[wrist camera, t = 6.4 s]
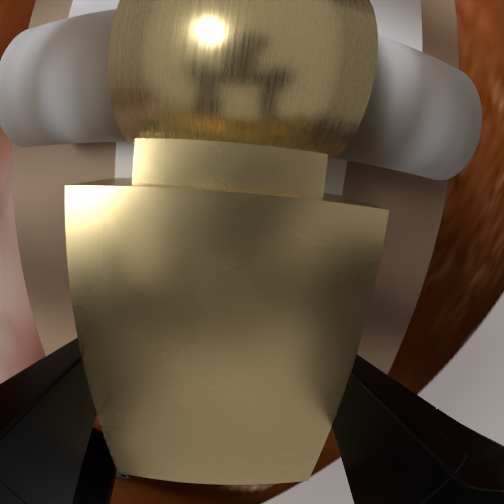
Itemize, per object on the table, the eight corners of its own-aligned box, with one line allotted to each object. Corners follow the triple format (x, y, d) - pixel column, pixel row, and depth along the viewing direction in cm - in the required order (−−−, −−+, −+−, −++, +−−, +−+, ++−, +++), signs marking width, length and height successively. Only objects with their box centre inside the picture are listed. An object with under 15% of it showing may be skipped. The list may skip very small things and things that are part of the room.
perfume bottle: (291, 420, 10) (314, 504, 7) (134, 412, 10) (112, 496, 6) (347, 39, 7) (418, -23, 3) (140, 19, 6) (93, -58, 2)
